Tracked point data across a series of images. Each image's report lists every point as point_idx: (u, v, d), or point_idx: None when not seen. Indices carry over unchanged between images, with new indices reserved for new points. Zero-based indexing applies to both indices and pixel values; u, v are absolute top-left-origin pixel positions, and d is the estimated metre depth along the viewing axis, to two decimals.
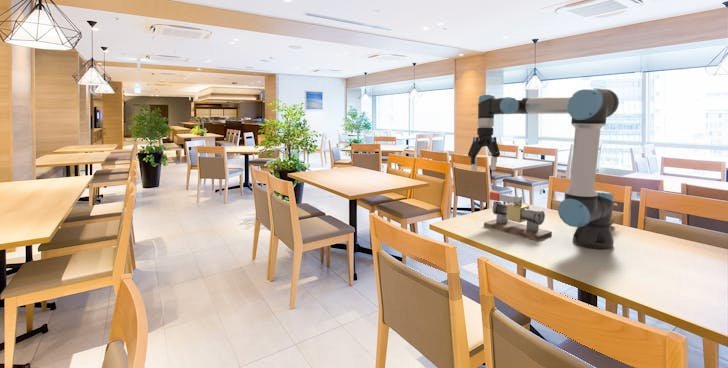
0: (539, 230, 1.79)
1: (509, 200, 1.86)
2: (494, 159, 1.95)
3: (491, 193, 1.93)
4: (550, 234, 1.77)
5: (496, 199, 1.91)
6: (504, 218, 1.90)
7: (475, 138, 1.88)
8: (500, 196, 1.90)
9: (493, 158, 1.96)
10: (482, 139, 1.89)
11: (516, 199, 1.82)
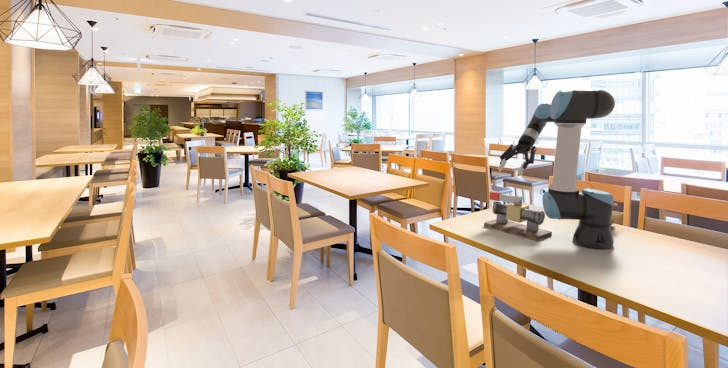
0: (539, 230, 1.79)
1: (509, 200, 1.86)
2: None
3: (491, 193, 1.93)
4: (550, 234, 1.77)
5: (496, 199, 1.91)
6: (504, 218, 1.90)
7: None
8: (500, 196, 1.90)
9: None
10: (517, 145, 2.03)
11: (516, 199, 1.82)
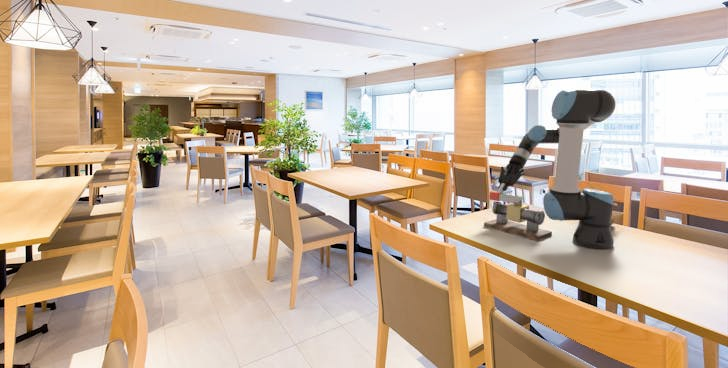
0: (539, 230, 1.79)
1: (509, 200, 1.86)
2: None
3: (491, 193, 1.93)
4: (550, 234, 1.77)
5: (496, 199, 1.91)
6: (504, 218, 1.90)
7: None
8: (500, 196, 1.90)
9: None
10: (508, 165, 2.01)
11: (516, 199, 1.82)
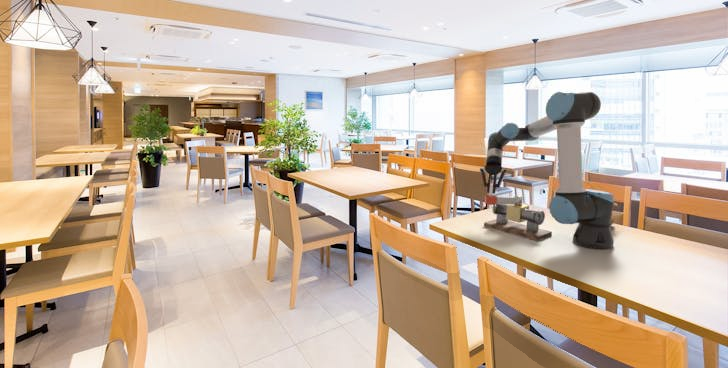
0: (539, 230, 1.79)
1: (509, 202, 1.83)
2: None
3: (488, 197, 1.83)
4: (550, 234, 1.77)
5: (494, 203, 1.83)
6: (504, 218, 1.90)
7: (480, 171, 1.97)
8: (498, 199, 1.83)
9: None
10: (487, 166, 1.96)
11: (519, 199, 1.81)
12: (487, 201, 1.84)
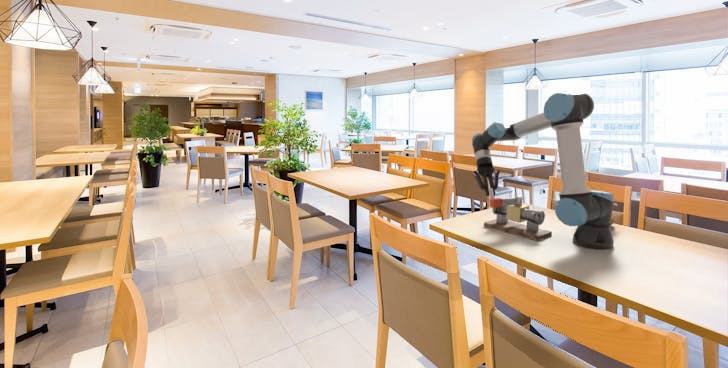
0: (539, 230, 1.79)
1: (512, 202, 1.81)
2: None
3: (495, 201, 1.77)
4: (550, 234, 1.77)
5: (500, 205, 1.79)
6: (504, 218, 1.90)
7: (473, 173, 1.90)
8: (503, 201, 1.79)
9: None
10: (480, 169, 1.91)
11: (521, 199, 1.81)
12: (494, 204, 1.77)
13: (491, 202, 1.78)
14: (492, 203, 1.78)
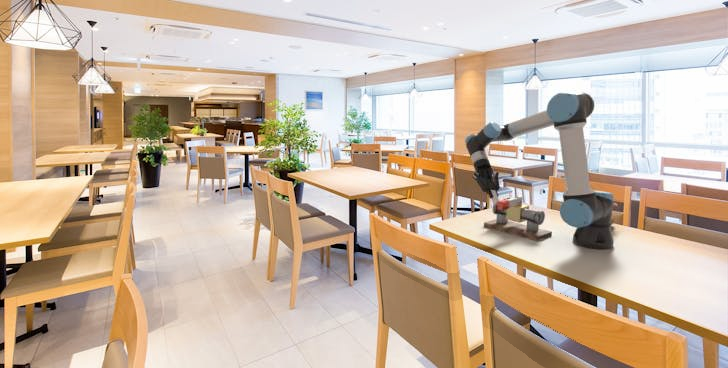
0: (539, 230, 1.79)
1: (515, 203, 1.80)
2: None
3: (504, 203, 1.73)
4: (550, 234, 1.77)
5: (507, 207, 1.76)
6: (504, 218, 1.90)
7: (474, 175, 1.84)
8: (509, 202, 1.77)
9: None
10: (479, 170, 1.85)
11: (522, 199, 1.82)
12: (503, 206, 1.73)
13: (500, 204, 1.74)
14: (501, 205, 1.73)
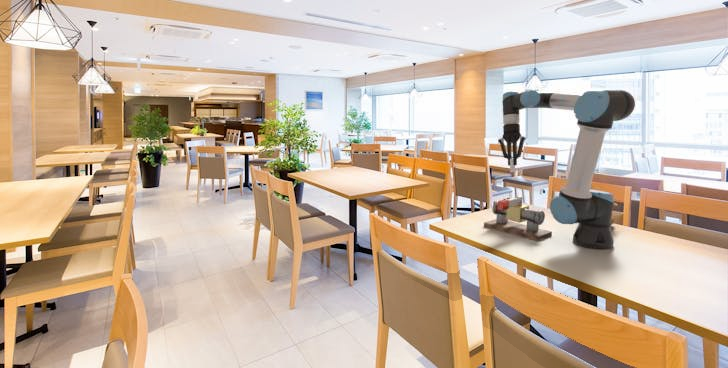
0: (539, 230, 1.79)
1: (515, 203, 1.80)
2: None
3: (504, 203, 1.73)
4: (550, 234, 1.77)
5: (507, 207, 1.76)
6: (504, 218, 1.90)
7: None
8: (509, 202, 1.77)
9: None
10: (505, 136, 1.91)
11: (522, 199, 1.82)
12: (503, 206, 1.73)
13: (500, 204, 1.74)
14: (501, 205, 1.73)
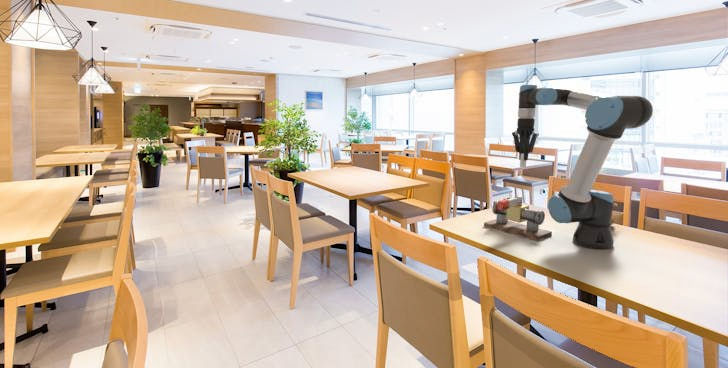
0: (539, 230, 1.79)
1: (515, 203, 1.80)
2: None
3: (504, 203, 1.73)
4: (550, 234, 1.77)
5: (507, 207, 1.76)
6: (504, 218, 1.90)
7: None
8: (509, 202, 1.77)
9: None
10: (518, 130, 1.88)
11: (522, 199, 1.82)
12: (503, 206, 1.73)
13: (500, 204, 1.74)
14: (501, 205, 1.73)
